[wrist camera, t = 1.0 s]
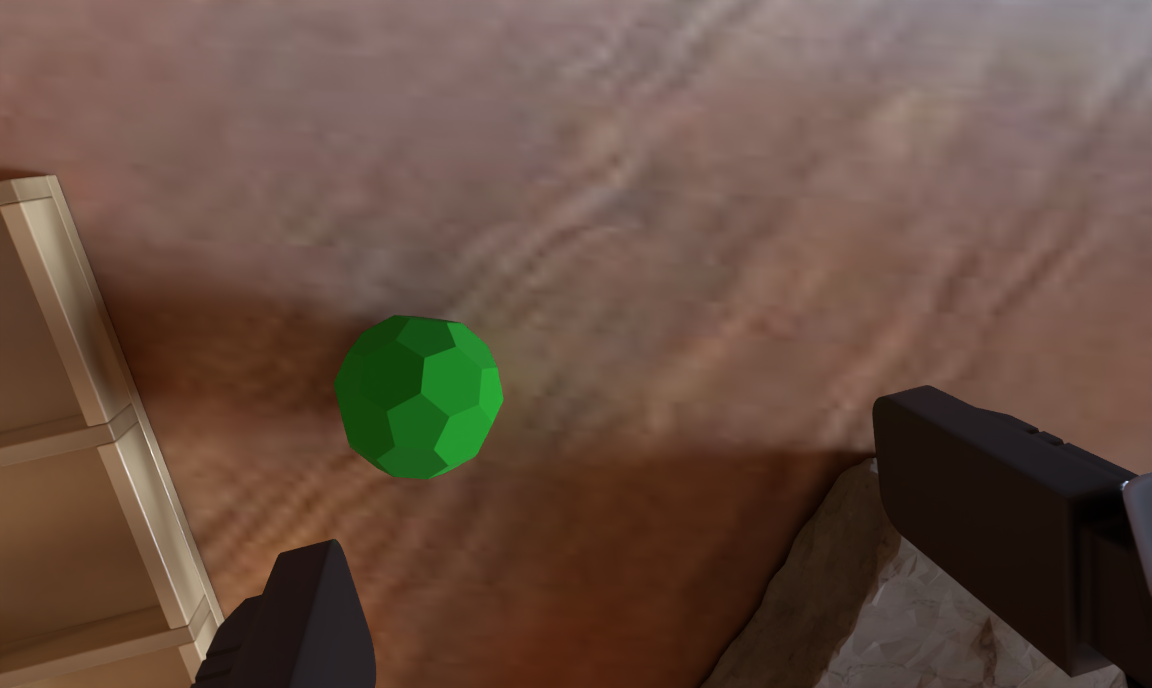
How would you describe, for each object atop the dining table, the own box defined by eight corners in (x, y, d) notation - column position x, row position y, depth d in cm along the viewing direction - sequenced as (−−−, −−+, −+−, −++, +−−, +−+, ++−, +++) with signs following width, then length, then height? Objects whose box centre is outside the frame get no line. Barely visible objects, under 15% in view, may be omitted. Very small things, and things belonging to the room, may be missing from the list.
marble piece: (661, 758, 31) (693, 849, 27) (756, 427, 28) (808, 475, 24) (1001, 776, 35) (1073, 858, 31) (1120, 484, 32) (1218, 534, 28)
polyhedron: (393, 465, 26) (383, 535, 22) (315, 345, 25) (285, 393, 20) (522, 396, 26) (538, 451, 22) (451, 272, 25) (453, 304, 20)
